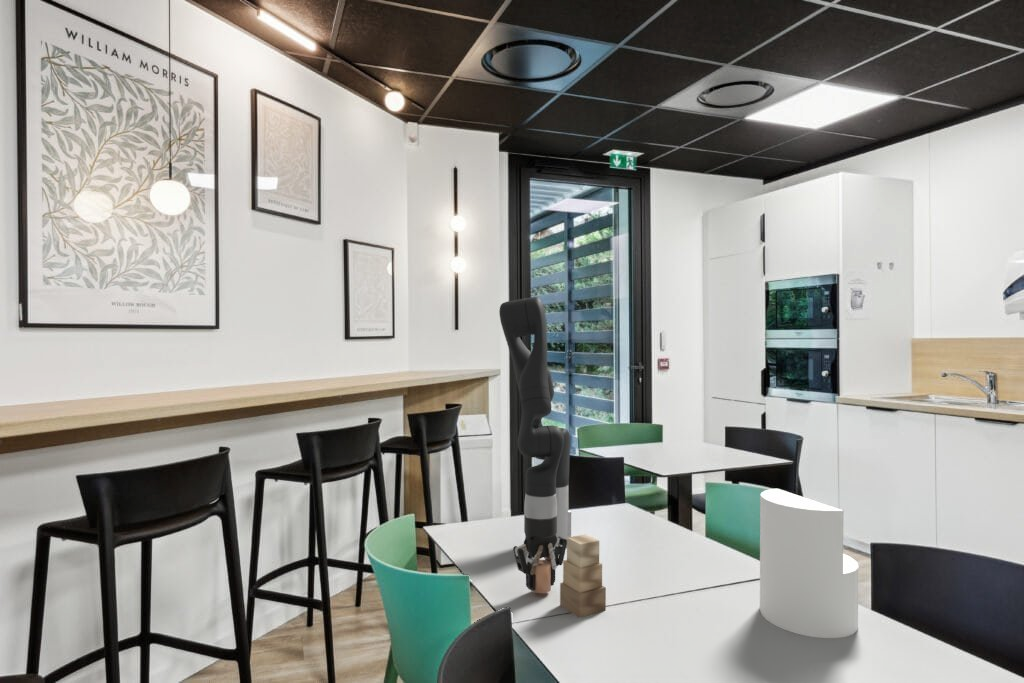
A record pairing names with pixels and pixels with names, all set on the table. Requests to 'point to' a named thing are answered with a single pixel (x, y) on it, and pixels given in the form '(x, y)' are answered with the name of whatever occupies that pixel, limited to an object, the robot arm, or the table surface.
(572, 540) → the tower top
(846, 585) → the cylinder
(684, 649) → the table surface
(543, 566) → the cylinder
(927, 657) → the table surface
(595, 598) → the tower base
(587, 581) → the tower mid
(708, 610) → the table surface
